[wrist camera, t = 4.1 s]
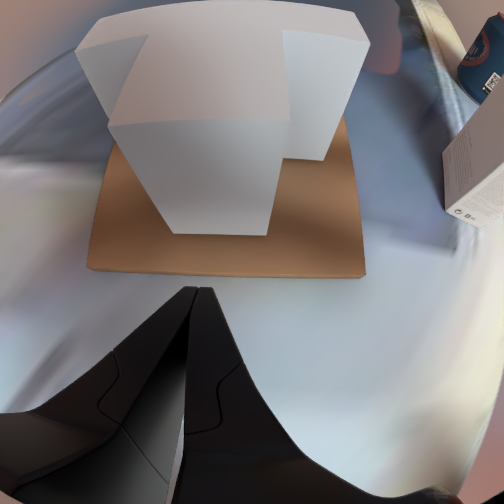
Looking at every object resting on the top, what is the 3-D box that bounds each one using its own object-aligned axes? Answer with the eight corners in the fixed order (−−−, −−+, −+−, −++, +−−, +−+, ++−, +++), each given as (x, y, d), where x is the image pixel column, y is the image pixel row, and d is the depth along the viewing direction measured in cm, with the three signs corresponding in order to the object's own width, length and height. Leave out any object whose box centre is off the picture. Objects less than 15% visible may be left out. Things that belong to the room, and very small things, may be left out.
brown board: (359, 278, 16) (366, 274, 15) (93, 270, 16) (85, 266, 15) (328, 71, 21) (330, 63, 20) (146, 70, 21) (144, 62, 20)
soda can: (451, 64, 24) (488, 2, 13) (491, 93, 23) (533, 39, 12) (454, 90, 22) (501, 18, 11) (498, 123, 22) (550, 63, 10)
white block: (330, 237, 16) (409, 137, 7) (116, 232, 15) (22, 143, 7) (318, 124, 18) (353, 12, 9) (141, 123, 18) (99, 18, 9)
